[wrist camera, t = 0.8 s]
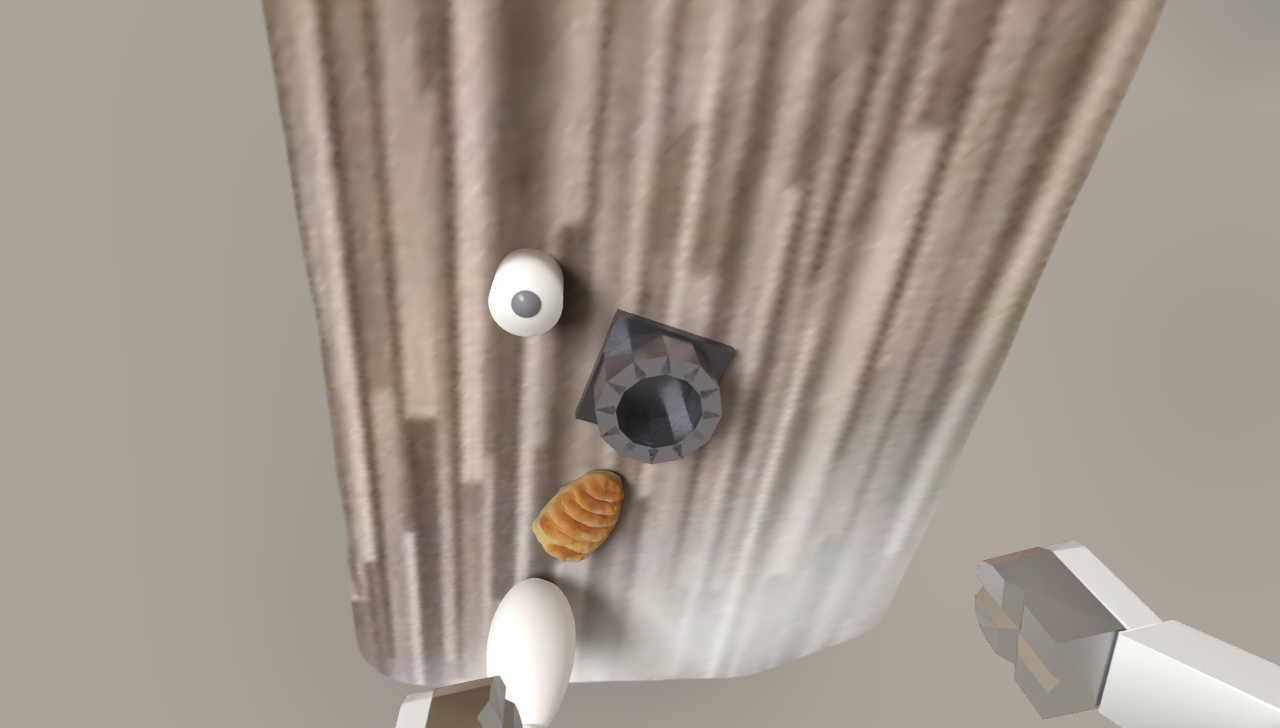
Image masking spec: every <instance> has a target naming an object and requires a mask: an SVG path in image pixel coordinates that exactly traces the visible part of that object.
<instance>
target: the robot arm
mask: <svg viewBox="0 0 1280 728" xmlns="http://www.w3.org/2000/svg"><path fill="white" fill-rule="evenodd" d="M977 578H978V579H979V581H980V582H981V584H982V585H983V587H982V588H981V589H980V591H979V592H978V593H977V594H976V595H975V612H976V616H977V619H978V622H979V625H980V628H981V630H982V632H983V633H984V636H985V638H986V640H987V641H988V642H989V644H990V645H991V647H992V648H993V650H994V651H995V653H996V654H997V655H999V656H1001V657H1003V658H1004V659H1006V660H1008V661H1010V662H1012V663H1013V664H1015V673H1014V679H1015V681H1016V683H1017V684H1018V685H1019V687H1020V688H1021V690H1022V691H1023V692H1024V694H1025V695H1026V696H1027V698H1028V699H1029V701H1030V702H1031V703H1032V705H1033V706H1034V708H1035V709H1036V711H1037V712H1038V713H1039V715H1040V716H1041V717H1042V719H1048V718H1053V717H1058V716H1063V715H1068V714H1073V713H1078V712H1083V711H1088V710H1093V709H1098V708H1099V712H1100V713H1101V714H1103V715H1104V716H1106V717H1107V718H1109V719H1110V720H1112V721H1113V722H1115V723H1116V724H1118V725H1119V726H1121V727H1122V728H1280V666H1278V665H1276V664H1273V663H1271V662H1269V661H1266V660H1264V659H1262V658H1260V657H1257V656H1255V655H1253V654H1251V653H1248V652H1246V651H1244V650H1241V649H1239V648H1237V647H1235V646H1232V645H1230V644H1228V643H1226V642H1223V641H1221V640H1219V639H1216V638H1214V637H1212V636H1210V635H1207V634H1205V633H1203V632H1200V631H1198V630H1196V629H1194V628H1192V627H1189V626H1187V625H1185V624H1182V623H1180V622H1178V621H1176V620H1168V621H1162V619H1160V618H1159V617H1158V616H1157V615H1156V614H1155V613H1154V612H1153V611H1152V610H1151V609H1150V608H1149V607H1148V606H1147V605H1146V604H1145V603H1144V602H1143V601H1142V600H1140V599H1139V598H1138V597H1137V596H1136V595H1135V594H1134V593H1133V592H1132V591H1131V590H1130V589H1129V588H1128V587H1127V586H1126V585H1125V584H1124V583H1123V582H1122V581H1121V580H1119V579H1118V578H1117V577H1116V576H1115V575H1114V574H1113V573H1112V572H1111V571H1110V570H1109V569H1108V568H1107V567H1106V566H1105V565H1103V563H1102V562H1101V561H1099V560H1098V559H1097V558H1096V557H1095V556H1094V555H1093V554H1092V553H1091V552H1090V551H1089V550H1088V549H1087V548H1086V547H1085V546H1084V545H1083V544H1081V543H1079V542H1077V541H1075V540H1069V541H1064V542H1060V543H1056V544H1052V545H1048V546H1044V547H1041V548H1040V547H1036V548H1032V549H1028V550H1024V551H1020V552H1016V553H1013V554H1008V555H1004V556H1000V557H996V558H992V559H988V560H984V561H982V562H981V563H980V564H979V565H978V568H977ZM505 696H506V685H505V684H504V682H503V680H502V679H501V677H500V675H497V676H493V677H488V678H483V679H478V680H474V681H469V682H464V683H459V684H455V685H450V686H445V687H440V688H435V689H431V690H426V691H422V692H418V693H413V694H409V695H408V696H407V697H406V699H405V701H404V703H403V704H402V706H401V709H400V713H399V717H398V720H397V724H396V728H523V724H522V721H521V717H520V713H519V711H518V709H517V707H516V705H515V703H513V702H511V701H509V700H507V699H505Z"/></svg>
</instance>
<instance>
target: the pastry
mask: <svg viewBox="0 0 1280 728" xmlns="http://www.w3.org/2000/svg"><path fill="white" fill-rule="evenodd" d="M623 498H624V491H623V487H622V481H621V478H620V476H619V475H616V474H615V473H613V472H610V471H605V470H592V471H590V472H587V473H586V474H585V475H584V476H582V477H581V478H579V479H577V480H575V481H573V482H572V483H570V484H567V485H565V486H563V487H561V488H560V490H559V492H558V493H557V494H556V495H555V496H554V497H553V498H552V499H551V500H550V501H549V502H548V503H547V505H546V506H545V507H544V508H543V510H542V511H541V513H540V515H539V516H538V517H537V518H536V519H535V520H534V522H533V523H532V530H533V532H534V533H535V534H536V537H537V539H538V541H539V542H540V543H541V544H542V546H543V548H544V549H545V551H546V552H547V553H549V554H550V555H552V556H554V557H556V558H558V559H560V560H562V561H574V562H579V561H581V560H583V559H586V558H587V557H588V556H589V554H590V553H591V552H592V551H594V550H595V549H597V548H598V547H599V546H600V545H601V544H602V543H603V542H605V540H606V538H607V537H608V535H609V533H610V532H611V531H612V530H613V528H614V526H615V523H616V522H617V520H618V515H619V513H620V507H621V503H622V500H623Z"/></svg>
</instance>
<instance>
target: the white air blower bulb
mask: <svg viewBox="0 0 1280 728" xmlns="http://www.w3.org/2000/svg"><path fill="white" fill-rule="evenodd" d="M574 656H575V622H574V617H573V613H572V610H571V607H570V604H569V602H568V600H567V598H566V597H565V595H564V594H563V592H562V591H561V590H560V588H559V587H557V586H556V585H555V584H553V583H551V582H548V581H546V580H544V579H540V578H530V579H527V580H524V581H521V582H519V583H517V584H516V585H515V586H514V587H512V588H511V589H510V591H509V592H508V593H507V594H506V596H505V597H504V598H503V600H502V601H501V603H500V605H499V606H498V609H497V611H496V613H495V615H494V617H493V620H492V623H491V627H490V632H489V637H488V643H487V653H486V666H487V677H493V676H497V675H500V677H501V679H502V680H503V682H504V684H505V685H506V696H505V699H507V700H509V701H511V702H513V703H515V705H516V707H517V709H518V711H519V713H520V717H521V721H522V724H523V728H547V726H548V725H549V724H550V722H551V720H552V719H553V717H554V715H555V714H556V712H557V710H558V708H559V706H560V704H561V702H562V699H563V697H564V694H565V691H566V688H567V686H568V682H569V679H570V675H571V672H572V667H573V662H574Z"/></svg>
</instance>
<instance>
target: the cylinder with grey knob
mask: <svg viewBox="0 0 1280 728" xmlns="http://www.w3.org/2000/svg"><path fill="white" fill-rule="evenodd" d="M563 288H564V278H563V273H562V270H561V267H560V266H559V264H558V263H557V261H556V260H555V259H554V258H553V257H552V256H551V255H549V254H548V253H546V252H544V251H542V250H539V249H535V248H522V249H518V250H515V251H513V252H511V253H509V254H508V255H507V256H505V257H504V258H503V260H502V261H501V262H500V264H499V266H498V269H497V272H496V275H495V278H494V281H493V284H492V287H491V290H490V294H489V309H490V312H491V314H492V316H493V318H494V320H495V321H496V322H497V323H498V325H499V326H501V327H502V328H503V329H504V330H506V331H508V332H510V333H512V334H515V335H518V336H525V337H530V336H537V335H540V334H543V333H545V332H547V331H548V330H550V329H551V328H552V327H553V326H554V325H555V324H556V323H557V322H558V320H559V318H560V316H561V313H562V308H563Z"/></svg>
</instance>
